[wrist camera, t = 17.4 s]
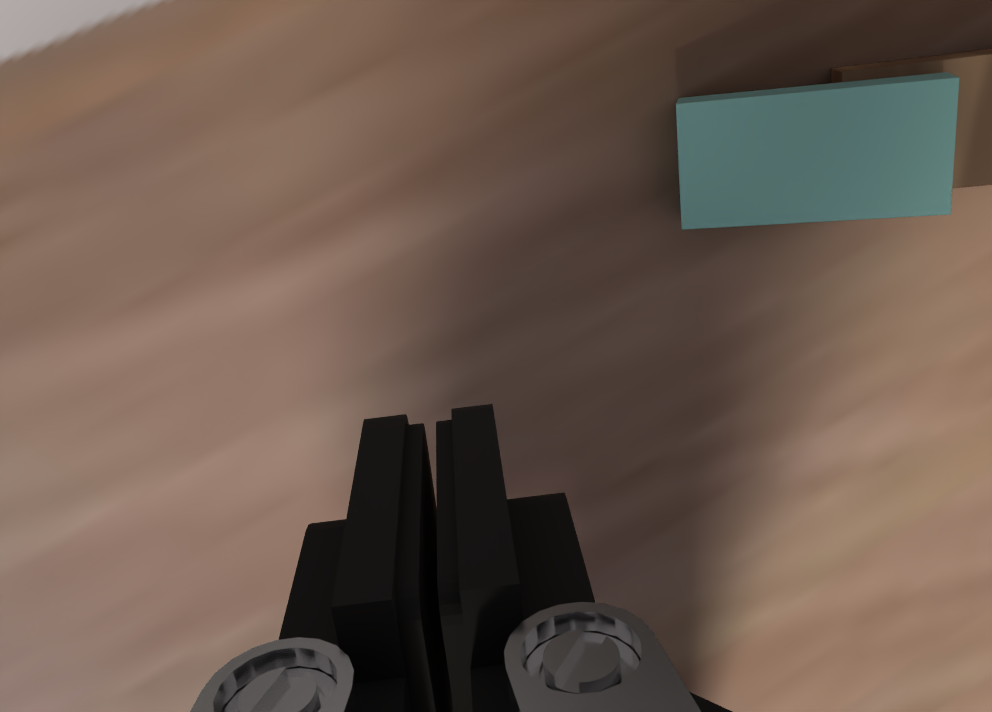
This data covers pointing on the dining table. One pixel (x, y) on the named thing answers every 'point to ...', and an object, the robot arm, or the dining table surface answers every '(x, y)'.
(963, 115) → the domino
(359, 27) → the dining table surface
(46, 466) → the dining table surface
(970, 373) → the dining table surface
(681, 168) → the teal domino
